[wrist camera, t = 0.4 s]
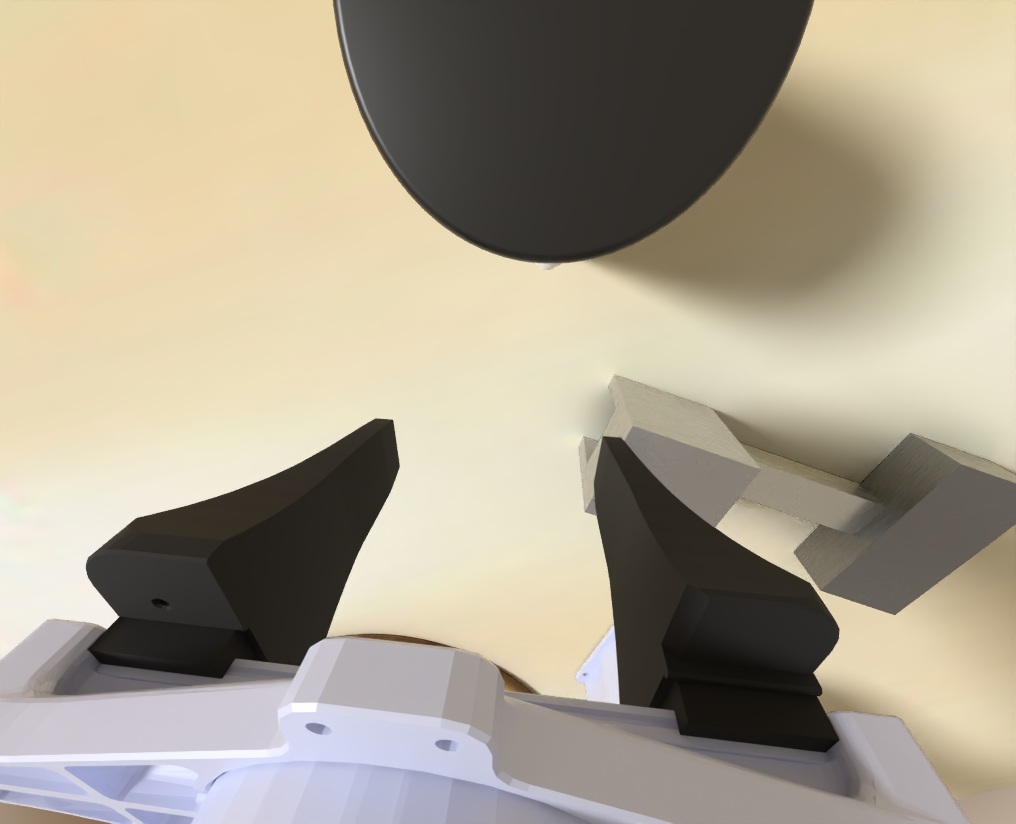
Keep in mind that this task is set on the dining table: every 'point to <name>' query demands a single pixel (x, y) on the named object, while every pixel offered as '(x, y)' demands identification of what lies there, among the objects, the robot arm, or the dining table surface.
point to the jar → (564, 109)
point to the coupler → (890, 518)
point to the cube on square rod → (674, 449)
